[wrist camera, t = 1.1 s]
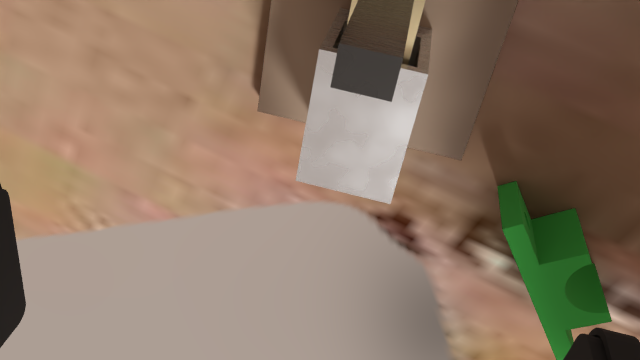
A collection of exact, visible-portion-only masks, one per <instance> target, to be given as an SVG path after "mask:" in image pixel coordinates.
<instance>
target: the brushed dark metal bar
mask: <svg viewBox="0 0 640 360" xmlns="http://www.w3.org/2000/svg"><path fill="white" fill-rule="evenodd" d="M425 1H426V0H352V2H351V7H350V12H349V17H348V22H347V26H346V28H345V31H344V33H343V35H342V37H341V40H340V42H339V45H338V50H337V56H336V61H335V66H334V71H333V76H332V81H331V86H330V87H331V88H335V89H339V90H343V91H348V92H352V93H356V94H360V95H364V96H369V97H373V98H377V99H381V100H385V101H390V102H392V99H393V95H394V91H395V88H396V84H397V80H398V76H399V72H400V69H401V65H402V64H405V65H408V64H409V60H410V56H411V52H412V49H413V45H414V41H415V38H416V34H417V30H418V26H419V23H420V19H421V15H422V12H423V8H424V4H425Z"/></svg>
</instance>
